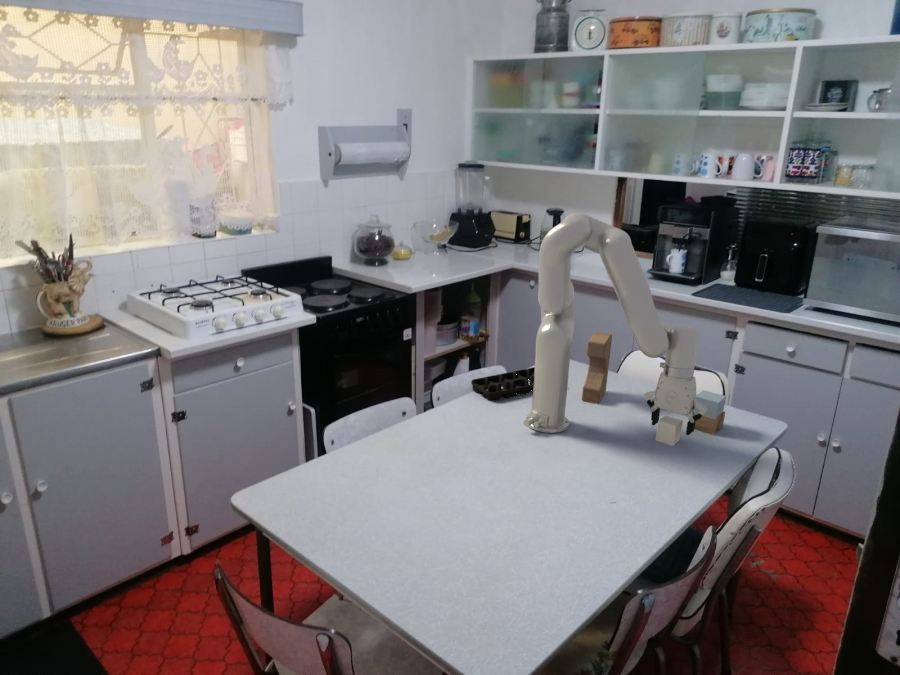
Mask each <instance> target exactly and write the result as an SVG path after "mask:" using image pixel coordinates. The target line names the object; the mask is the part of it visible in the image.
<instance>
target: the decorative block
mask: <svg viewBox="0 0 900 675" xmlns="http://www.w3.org/2000/svg"><path fill="white" fill-rule="evenodd" d="M612 339H613V335H612V334H611V333H605V332H599V331H595V332H594V333H593V335H592V336H591V337H590V338H589V339H588V341H587V344H586V345H587V346H586V357H588V368H587V369H588V370H587V374H586V379H585V381H584V384H583V386H582V391H581V392H582V394H581V401H582V402H586V401H587V403H591V402H592V403H591V404H596V403H597V404H600V403H601V400H602V399H603V398H604V395H605V394H606V392H607V383H608V374H609V367H610V357H611V350H612ZM597 404H596V405H597Z"/></svg>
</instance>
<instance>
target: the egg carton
mask: <svg viewBox="0 0 900 675" xmlns="http://www.w3.org/2000/svg"><path fill="white" fill-rule="evenodd" d="M516 374H517V375H516ZM534 375H535V366H533V367H529V368H522V369H519V370H514V371H509V372H505V373H499V374H495V375H489V376H485V377H479V378H474V379H472V380H471V381H470V382H471V386H472V391H473V392H474V393H475V394H478V395H482V397H483V399H486V400H487V401H489V402H490V401H491V402H499V401H501V400H502V398H503V397H504V398H503V399H511V398H515V397H516V396H517V395H518V394H520V395H519V396H522V395H521V394H525V395H527V394H526V393H529V392H530V393H531V392H532V391H533V387H534ZM528 379H529V380H530V381H529V380H528ZM529 384H530V385H529ZM531 390H532V391H531ZM516 393H517V394H516ZM530 393H529V394H530ZM514 396H515V397H514ZM510 397H511V398H510ZM500 399H501V400H500Z"/></svg>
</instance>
